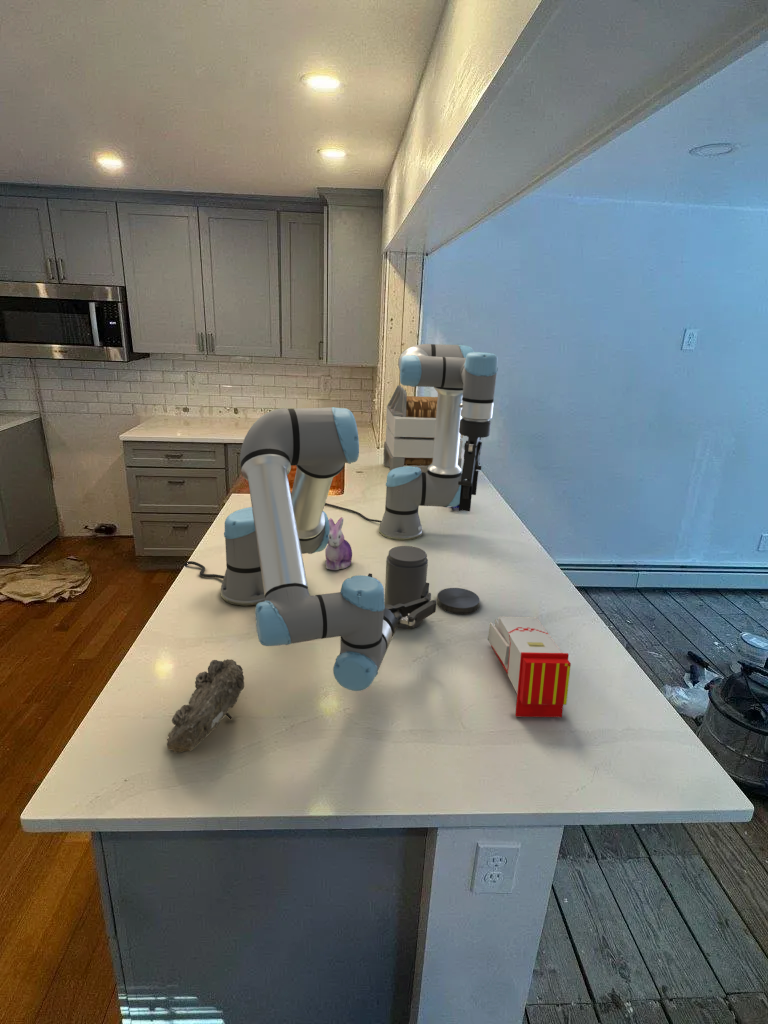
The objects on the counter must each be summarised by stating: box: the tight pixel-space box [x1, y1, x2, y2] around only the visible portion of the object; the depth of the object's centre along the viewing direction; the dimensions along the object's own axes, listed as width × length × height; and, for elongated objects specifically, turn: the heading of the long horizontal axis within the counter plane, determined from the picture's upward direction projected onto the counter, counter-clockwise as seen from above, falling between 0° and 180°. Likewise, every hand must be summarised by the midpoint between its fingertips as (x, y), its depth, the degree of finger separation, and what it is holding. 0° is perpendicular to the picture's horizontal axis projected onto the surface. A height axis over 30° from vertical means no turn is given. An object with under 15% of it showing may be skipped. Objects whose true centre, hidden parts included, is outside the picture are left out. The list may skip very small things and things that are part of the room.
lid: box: [436, 587, 481, 615], centre depth 154 cm, size 12×12×2 cm
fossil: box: [166, 658, 245, 754], centre depth 106 cm, size 22×10×15 cm
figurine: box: [324, 517, 353, 571], centre depth 171 cm, size 9×10×15 cm
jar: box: [384, 545, 429, 630], centre depth 142 cm, size 10×10×18 cm
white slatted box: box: [383, 384, 464, 472], centre depth 268 cm, size 34×33×41 cm
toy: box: [487, 616, 572, 718], centre depth 123 cm, size 12×13×30 cm
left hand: (398, 583), depth 132 cm, fingers open, 13 cm apart
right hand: (467, 502), depth 144 cm, fingers open, 13 cm apart
